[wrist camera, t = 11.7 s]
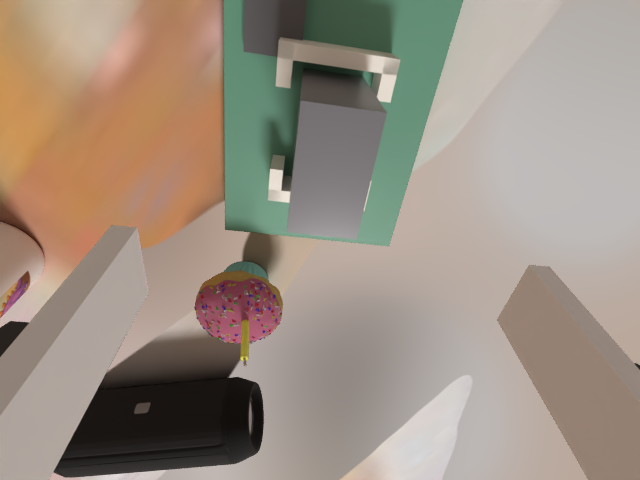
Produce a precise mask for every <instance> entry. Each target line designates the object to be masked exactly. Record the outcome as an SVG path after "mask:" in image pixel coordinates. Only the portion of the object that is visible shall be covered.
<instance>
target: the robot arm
mask: <svg viewBox="0 0 640 480" xmlns="http://www.w3.org/2000/svg"><path fill="white" fill-rule="evenodd" d="M148 293H149V290H148V284H147V279H146V274H145V268H144V262H143V257H142V251H141V245H140V240H139V234H138V229H137V228H136V227H125V226H115V225H112V226H111V227H110V228H109V229H108V230H107V231H106V233H105V234H104V235H103V236H102V237H101V239H100V240H99V241H98V242H97V243H96V244H95V246H94V247H93V248H92V249H91V250H90V252H89V253H88V254H87V255H86V256H85V257H84V259H83V260H82V261H81V262H80V263H79V265H78V266H77V267H76V268H75V269H74V270H73V272H72V273H71V274H70V275H69V276H68V278H67V279H66V280H65V281H64V282H63V283H62V285H61V286H60V287H59V288H58V289H57V291H56V292H55V293H54V294H53V295H52V297H51V298H50V299H49V300H48V301H47V302H46V304H45V305H44V306H43V307H42V308H41V310H40V311H39V312H38V313H37V314H36V315H35V317H34V318H33V319H32V320H31V321H30V323H28V322H14V321H10V322H8V323H7V324H5V325H4V326H2V327H1V328H0V480H49V479H50V477H51V475H52V474H53V472H54V470H55V468H56V466H57V464H58V462H59V460H60V459H61V457H62V455H63V453H64V451H65V449H66V447H67V445H68V444H69V442H70V440H71V438H72V436H73V434H74V432H75V430H76V428H77V427H78V425H79V423H80V421H81V419H82V417H83V415H84V413H85V412H86V410H87V408H88V406H89V404H90V402H91V400H92V398H93V397H94V395H95V393H96V391H97V389H98V387H99V385H100V383H101V382H102V380H103V378H104V376H105V374H106V372H107V370H108V368H109V367H110V365H111V363H112V361H113V359H114V357H115V355H116V353H117V352H118V350H119V348H120V346H121V344H122V342H123V340H124V338H125V336H126V335H127V332H128V331H129V329H130V327H131V325H132V323H133V321H134V320H135V318H136V316H137V314H138V312H139V310H140V308H141V306H142V304H143V303H144V301H145V299H146V297H147V295H148ZM497 321H498V322H499V324H500V326H501V328H502V330H503V331H504V333H505V335H506V336H507V338H508V340H509V342H510V344H511V345H512V347H513V349H514V351H515V352H516V354H517V356H518V358H519V359H520V361H521V363H522V364H523V366H524V368H525V370H526V371H527V373H528V375H529V377H530V379H531V380H532V382H533V384H534V386H535V387H536V389H537V391H538V393H539V394H540V396H541V398H542V400H543V401H544V403H545V405H546V407H547V408H548V410H549V412H550V414H551V415H552V417H553V419H554V420H555V422H556V424H557V426H558V428H559V429H560V431H561V433H562V434H563V436H564V438H565V440H566V442H567V443H568V445H569V447H570V448H571V450H572V452H573V454H574V455H575V457H576V459H577V461H578V462H579V464H580V466H581V468H582V470H583V471H584V473H585V475H586V476H587V478H588V480H640V365H638V364H636V363H633V362H632V361H631V359H630V358H629V357H628V356H627V355H626V354H625V353H624V352H623V350H622V349H621V348H620V347H619V346H618V345H617V343H616V342H615V341H614V340H613V339H612V338H611V337H610V336H609V334H608V333H607V332H606V331H605V330H604V329H603V327H602V326H601V325H600V324H599V323H598V322H597V321H596V319H595V318H594V317H593V316H592V315H591V314H590V313H589V311H588V310H587V309H586V308H585V307H584V306H583V305H582V303H581V302H580V301H579V300H578V299H577V298H576V296H575V295H574V294H573V293H572V292H571V291H570V290H569V288H568V287H567V286H566V285H565V284H564V283H563V282H562V281H561V279H560V278H559V277H558V276H557V275H556V274H555V273H554V271H553V270H552V269H551V268H550V267H546V266H536V265H529V266H528V268H527V269H526V271H525V273H524V274H523V276H522V278H521V280H520V281H519V283H518V285H517V287H516V288H515V290H514V292H513V293H512V295H511V297H510V298H509V300H508V302H507V304H506V305H505V307H504V309H503V311H502V312H501V314H500V315H499V317H498V319H497Z"/></svg>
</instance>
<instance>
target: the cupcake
mask: <svg viewBox="0 0 640 480" xmlns="http://www.w3.org/2000/svg"><path fill="white" fill-rule="evenodd" d="M194 308H195V310H196V315H197V319H198V320H199V322H200V324H201V325H202V326H203V329H206V330H207V332H208V333H210V334H209V335H211V336H212V337H213V336H215V337H217V338H218V339H220V340H222V341H223V342H224V341H225V342H224V343H226V342H228V343H229V342H230V343H236V344H238V343H239V344H241V354H240V359H241V360H242V361H244V366H246V361H247V360H248V351H249V343H250V344H252V343H251V342H255V341H256V340H261V339H262V338H264V337H266V336H268V335H270V334H271V332H272V331H274V329H276V327H277V326H278V325H279V324H280V321H281V315H282V308H283V302H282V298H281V296H280V292H279V290H278V289H277V288H276V287H275V286H273V285H272V284H270V283H269V280H268V276H267V274H266V272H265V271H264V269H263V268H261V267H260V266H259V265H257V264H255V263H252V262H246V261H242V262H236V263H234V264H231V265H230V266H229V267H227V269H226V270H225V271H224V272H222V273H220V274H218V275H216V276H214V277H212V278H211V279H209V280H208V281H205V282H204V283H203V284H202V286H201V288H200V290H199V293H198V295H197V297H196V303H195V307H194Z"/></svg>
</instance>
